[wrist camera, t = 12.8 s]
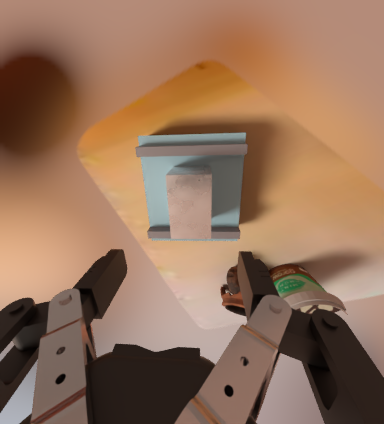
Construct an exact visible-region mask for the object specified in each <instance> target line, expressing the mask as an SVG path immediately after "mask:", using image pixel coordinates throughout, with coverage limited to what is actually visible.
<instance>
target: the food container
mask: <svg viewBox="0 0 384 424" xmlns="http://www.w3.org/2000/svg"><path fill="white" fill-rule="evenodd" d="M269 274H270V277H271V278H272V280H273V283H274V285H275V287H276V289H277V291H278V293H279V296H280V297H281V298H283V299H284V300H285V301H286V302H287V303H288V304H289V305H290V307H291V308H293V309H295V310H298V311H301V312H304V313H308V314H311V315H312V312H313V311H314V310H316V309H325V310H328V311H331V312H333V313H335V312H337V311H339V310H342V311H344V312H345V310H346V309H345V307H344V305H343V303H342V301H341V300H340V299H339V298H337V297H336V296H334V295H332V294H330V293H327V292H326V291H325V290H324V289H323V288H322V287H321V286H320V285H319V284H318V283H317V281H316V280H315V279H314V278H313V277H312V276H311V275H310V274H309V273H308V272H307V271H306V270H305V269H304V268H302V267H300V266H298V265H293V264H284V265H280V266H277V267H275V268H273V269H271V270H270V271H269ZM345 313H346V312H345ZM346 314H347V313H346Z"/></svg>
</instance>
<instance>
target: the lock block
mask: <svg viewBox="0 0 384 424" xmlns="http://www.w3.org/2000/svg"><path fill="white" fill-rule="evenodd" d="M166 187H167V198H168V210H169V221H170V233H171V239H211V205H212V173H211V168H210V166H174V167H173V168H172V169H171V170H170V171H169V172H168V173H167V174H166Z"/></svg>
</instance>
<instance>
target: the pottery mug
mask: <svg viewBox="0 0 384 424" xmlns="http://www.w3.org/2000/svg"><path fill="white" fill-rule="evenodd" d="M237 268H238V267H231V268H230V269H229V271H228V273H227V283H228V287H229V291H230V292H231V293H234V294H233V295H231V294H230V292H228V293H226V292H225V288H224V287H221V289H220V290H221V296H222V299H223V302H222V305H223V306H226V307H225V308H226V309H227V310H229V311H231V312H233V313H236V314H239V315H243V316H246V313H245V308H244V304H243V299H242V295H241V291H240V286H239V282H238V276H237Z"/></svg>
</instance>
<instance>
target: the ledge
mask: <svg viewBox="0 0 384 424" xmlns="http://www.w3.org/2000/svg"><path fill="white" fill-rule="evenodd" d="M245 140H246V133H216V134H185V135H153V136H138V141H139V147H135V148H136V155H137V157H141V163H142V171H143V178H144V186H145V193H146V200H147V208H148V215H149V223H150V228H149V230H148V231H147V232H148V238H152V240H176V241H237V239H240V230H239V227H238V226H239V214H240V202H241V189H242V177H243V164H244V154H247V147H248V144H245ZM174 166H210V168H211V173H212V205H211V239H171V233H170V221H169V210H168V198H167V187H166V174H167V173H168V172H169V171H170V170H171V169H172V168H173V167H174Z"/></svg>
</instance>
